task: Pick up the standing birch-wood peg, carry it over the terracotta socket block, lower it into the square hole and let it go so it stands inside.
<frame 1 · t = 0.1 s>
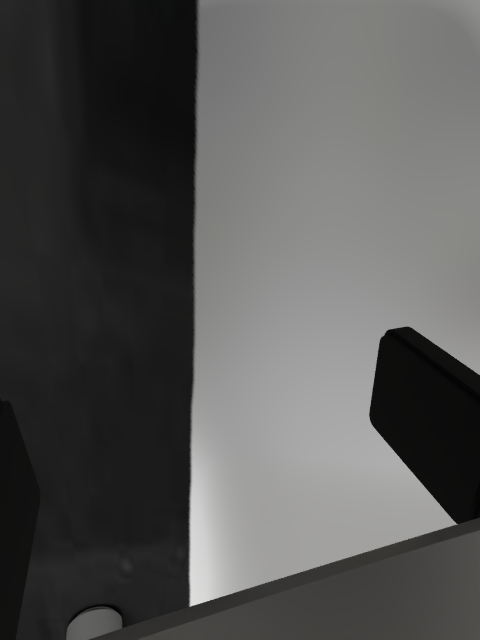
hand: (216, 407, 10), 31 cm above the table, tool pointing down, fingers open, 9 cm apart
can: (95, 618, 61), on the table
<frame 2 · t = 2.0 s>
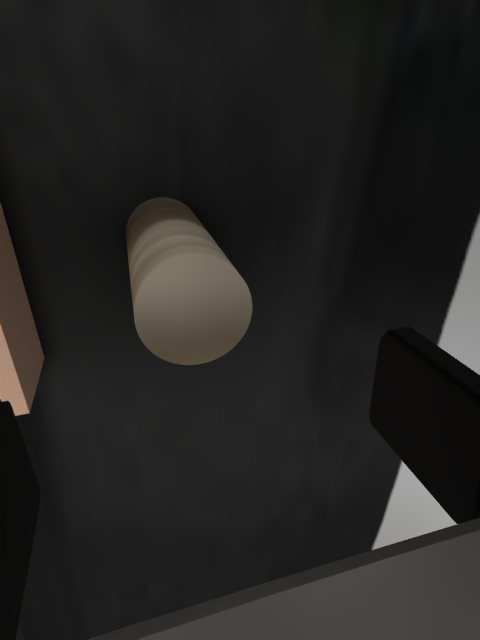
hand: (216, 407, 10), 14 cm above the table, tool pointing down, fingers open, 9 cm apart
peg: (163, 234, 22), on the table
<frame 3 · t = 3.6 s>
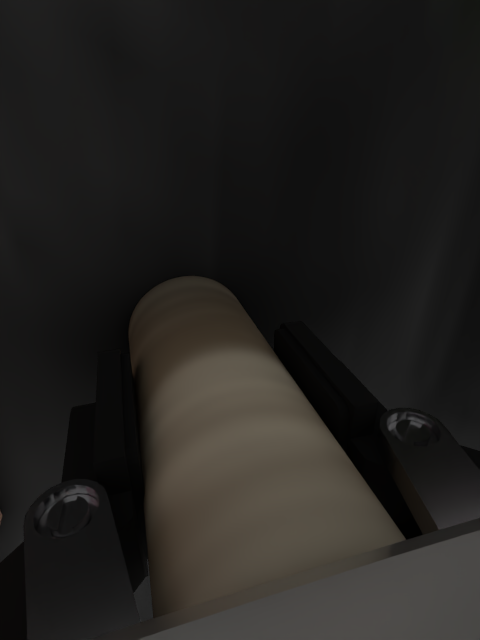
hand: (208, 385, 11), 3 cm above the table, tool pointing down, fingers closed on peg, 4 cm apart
peg: (188, 331, 14), on the table, touching gripper
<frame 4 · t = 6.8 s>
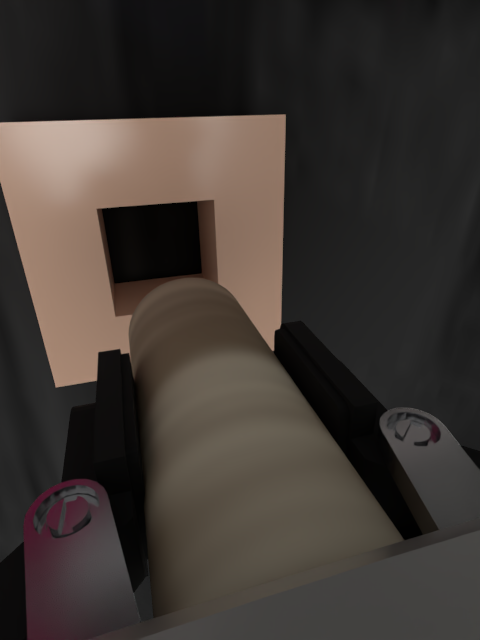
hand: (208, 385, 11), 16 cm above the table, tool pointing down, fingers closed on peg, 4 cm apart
peg: (188, 332, 14), point 13 cm above the table, touching gripper
socket: (154, 235, 25), on the table
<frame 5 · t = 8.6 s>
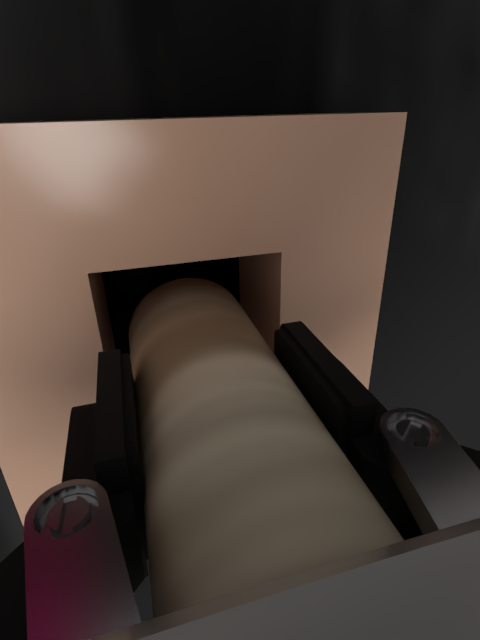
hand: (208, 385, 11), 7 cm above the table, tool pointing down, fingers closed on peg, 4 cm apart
peg: (188, 332, 14), point 4 cm above the table, touching gripper
socket: (175, 289, 17), on the table
when the fingers open (6 cm above the table, at t = 10.1 s): peg drops 2 cm, resting in socket.
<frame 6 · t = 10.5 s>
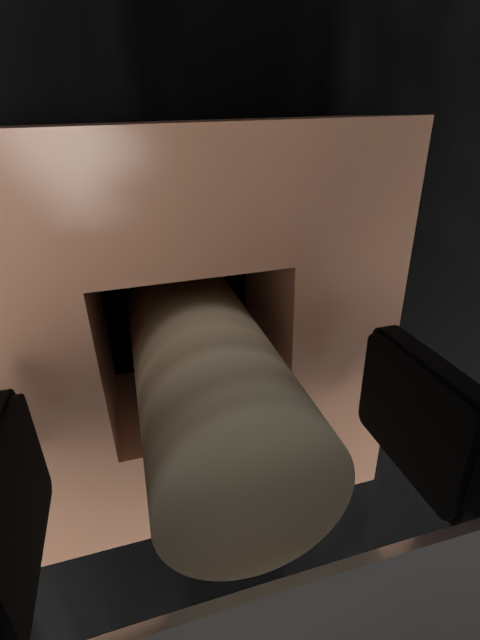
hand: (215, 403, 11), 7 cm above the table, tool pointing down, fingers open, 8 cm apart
peg: (179, 302, 16), resting in socket
socket: (178, 303, 16), on the table
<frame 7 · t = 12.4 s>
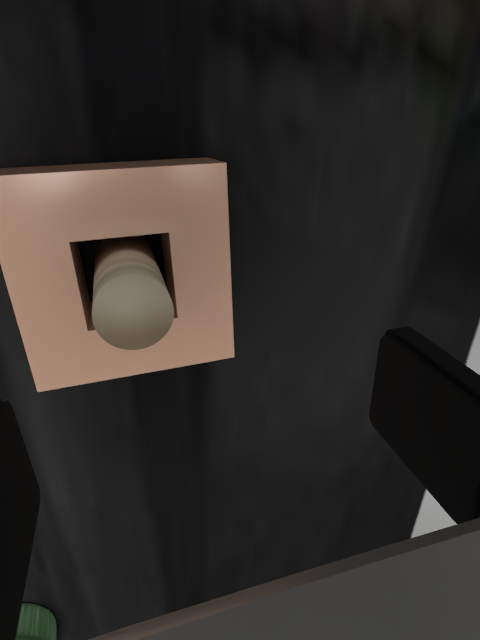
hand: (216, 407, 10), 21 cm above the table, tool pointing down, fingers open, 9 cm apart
peg: (124, 259, 29), resting in socket
socket: (123, 259, 29), on the table
ramekin: (13, 625, 41), on the table
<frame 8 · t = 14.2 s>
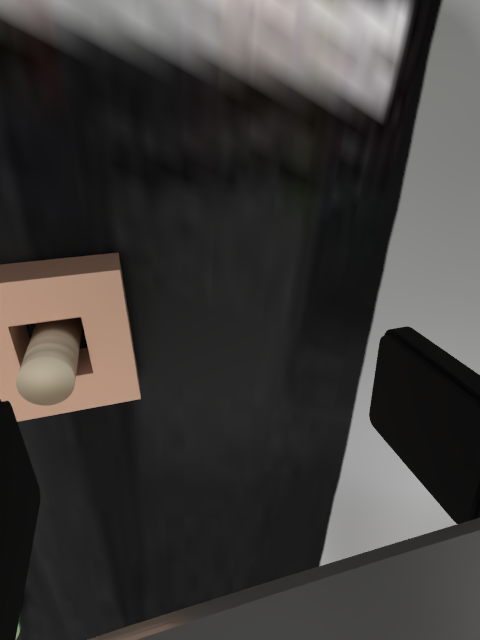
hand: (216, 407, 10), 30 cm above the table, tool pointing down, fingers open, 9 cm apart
peg: (59, 325, 39), resting in socket
socket: (59, 325, 39), on the table
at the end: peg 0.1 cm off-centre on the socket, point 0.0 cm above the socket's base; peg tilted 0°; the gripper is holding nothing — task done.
